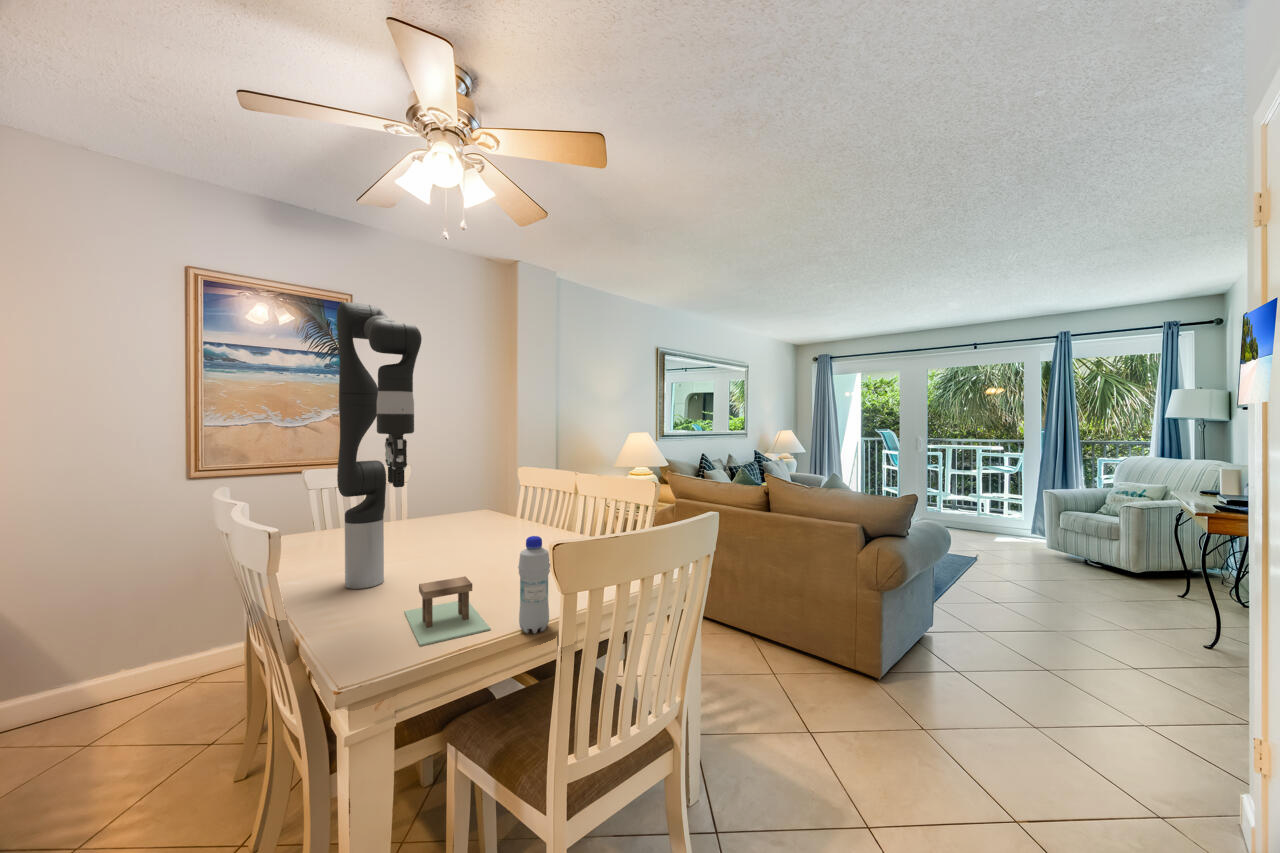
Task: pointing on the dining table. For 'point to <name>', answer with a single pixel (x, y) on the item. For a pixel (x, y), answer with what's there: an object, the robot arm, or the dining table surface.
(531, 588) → the bottle
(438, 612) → the mat
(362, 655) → the dining table surface
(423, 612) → the stool
